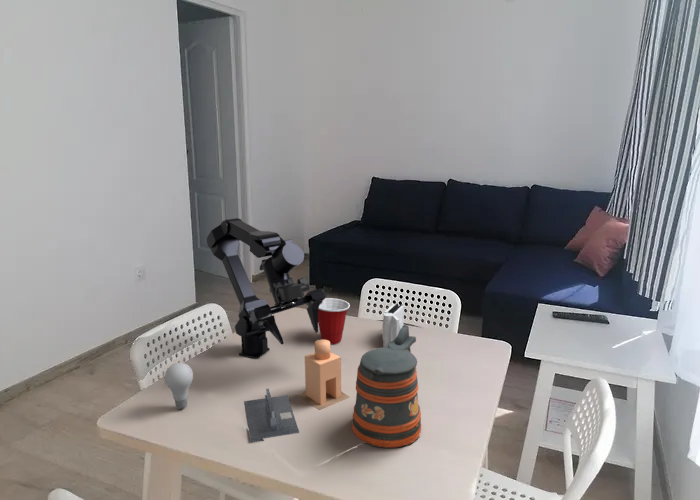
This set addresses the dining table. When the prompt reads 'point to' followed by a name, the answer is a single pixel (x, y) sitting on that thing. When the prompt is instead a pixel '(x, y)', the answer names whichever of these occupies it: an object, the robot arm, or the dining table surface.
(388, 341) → the white box
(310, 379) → the arched stamp block
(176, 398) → the lightbulb
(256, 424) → the grey finned plate
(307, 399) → the thin square tan tile
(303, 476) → the dining table surface
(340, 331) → the plastic cup
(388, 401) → the beer stein
